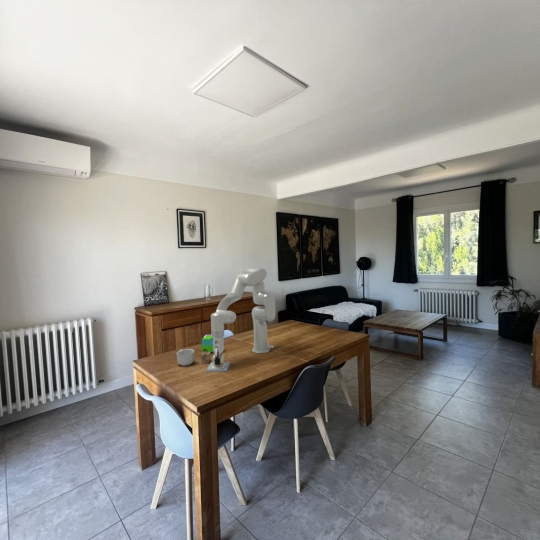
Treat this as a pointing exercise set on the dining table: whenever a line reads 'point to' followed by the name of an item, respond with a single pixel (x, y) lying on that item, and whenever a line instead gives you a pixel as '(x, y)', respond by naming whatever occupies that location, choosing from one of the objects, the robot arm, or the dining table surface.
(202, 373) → the dining table surface
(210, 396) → the dining table surface
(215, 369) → the plate
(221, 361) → the block base
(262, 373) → the dining table surface
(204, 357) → the block top
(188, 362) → the teacup
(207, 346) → the toy car
